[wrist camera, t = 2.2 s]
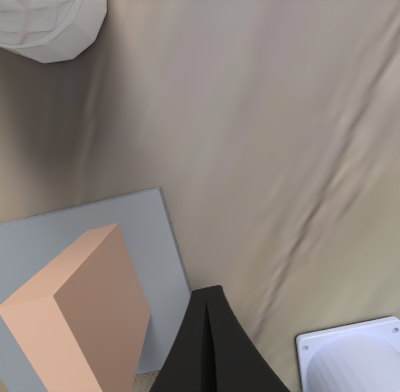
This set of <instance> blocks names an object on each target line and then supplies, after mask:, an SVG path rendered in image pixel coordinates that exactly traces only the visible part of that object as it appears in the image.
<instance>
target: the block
mask: <svg viewBox="0 0 400 392" xmlns="http://www.w3.org/2000/svg"><path fill="white" fill-rule="evenodd" d="M0 315H1V317H2V318H3V320H4V322H5V323H6V325H7V326H8V328H9V330H10V331H11V333H12V334H13V336H14V337H15V339H16V341H17V342H18V344H19V345H20V347H21V349H22V350H23V352H24V353H25V355H26V357H27V358H28V360H29V361H30V363H31V365H32V366H33V368H34V369H35V371H36V373H37V374H38V376H39V377H40V379H41V381H42V382H43V384H44V385H45V387H46V389H47V390H48V392H131V391H132V387H133V383H134V379H135V375H136V371H137V367H138V363H139V359H140V355H141V351H142V347H143V343H144V339H145V335H146V331H147V327H148V323H149V319H150V315H151V311H150V308H149V306H148V303H147V300H146V298H145V295H144V292H143V289H142V287H141V284H140V281H139V279H138V276H137V273H136V270H135V268H134V265H133V262H132V260H131V257H130V254H129V252H128V249H127V246H126V243H125V241H124V238H123V235H122V233H121V230H120V227H119V224H113V225H109V226H104V227H100V228H96V229H91V230H87V231H86V232H85V233H83V234H82V235H81V236H80V237H79V238H78V239H76V240H75V241H74V242H73V243H72V244H71V245H69V246H68V247H67V248H66V249H65V250H64V251H62V252H61V253H60V254H59V255H58V256H57V257H55V258H54V259H53V260H52V261H51V262H50V263H48V264H47V265H46V266H45V267H44V268H43V269H41V270H40V271H39V272H38V273H37V274H36V275H34V276H33V277H32V278H31V279H30V280H28V281H27V282H26V283H25V284H24V285H23V286H21V287H20V288H19V289H18V290H17V291H16V292H14V293H13V294H12V295H11V296H10V297H9V298H7V299H6V300H5V301H4V302H3V303H2V304H0Z"/></svg>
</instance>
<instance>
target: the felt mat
mask: <svg viewBox="0 0 400 392" xmlns="http://www.w3.org/2000/svg"><path fill="white" fill-rule="evenodd" d="M113 224H119V227H120V230H121V233H122V235H123V238H124V241H125V243H126V246H127V249H128V252H129V254H130V257H131V260H132V262H133V265H134V268H135V270H136V273H137V276H138V279H139V281H140V284H141V287H142V289H143V292H144V295H145V298H146V300H147V303H148V306H149V308H150V311H151V315H150V319H149V323H148V327H147V331H146V335H145V339H144V343H143V347H142V351H141V355H140V359H139V363H138V367H137V371H136V375H138V374H143V373H148V372H153V371H158V370H161V368H162V366H163V364H164V362H165V360H166V358H167V356H168V354H169V351H170V349H171V347H172V345H173V343H174V340H175V338H176V336H177V333H178V331H179V328H180V326H181V323H182V320H183V318H184V315H185V312H186V309H187V306H188V303H189V300H190V296H191V293H192V292H191V289H190V285H189V282H188V278H187V275H186V271H185V268H184V265H183V261H182V258H181V254H180V251H179V247H178V244H177V241H176V237H175V234H174V230H173V227H172V223H171V220H170V217H169V213H168V210H167V206H166V203H165V199H164V196H163V193H162V189H161V186H160V187H155V188H151V189H147V190H143V191H138V192H134V193H130V194H125V195H121V196H117V197H112V198H108V199H104V200H100V201H95V202H91V203H87V204H82V205H78V206H74V207H69V208H65V209H61V210H57V211H52V212H48V213H44V214H39V215H35V216H31V217H26V218H22V219H18V220H14V221H9V222H5V223H1V224H0V304H2V303H3V302H4V301H5V300H6V299H7V298H9V297H10V296H11V295H12V294H13V293H14V292H16V291H17V290H18V289H19V288H20V287H21V286H23V285H24V284H25V283H26V282H27V281H28V280H30V279H31V278H32V277H33V276H34V275H36V274H37V273H38V272H39V271H40V270H41V269H43V268H44V267H45V266H46V265H47V264H48V263H50V262H51V261H52V260H53V259H54V258H55V257H57V256H58V255H59V254H60V253H61V252H62V251H64V250H65V249H66V248H67V247H68V246H69V245H71V244H72V243H73V242H74V241H75V240H76V239H78V238H79V237H80V236H81V235H82V234H83V233H85V232H86V231H87V230H91V229H96V228H100V227H104V226H109V225H113ZM0 379H1V381H2V382H3V383H4V385H5V386H6V388H7V389H8V391H9V392H48V390H47V389H46V387H45V385H44V384H43V382H42V381H41V379H40V377H39V376H38V374H37V373H36V371H35V369H34V368H33V366H32V365H31V363H30V361H29V360H28V358H27V357H26V355H25V353H24V352H23V350H22V349H21V347H20V345H19V344H18V342H17V341H16V339H15V337H14V336H13V334H12V333H11V331H10V330H9V328H8V326H7V325H6V323H5V322H4V320H3V318H2V317H1V315H0Z"/></svg>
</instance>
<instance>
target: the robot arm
mask: <svg viewBox="0 0 400 392" xmlns="http://www.w3.org/2000/svg"><path fill="white" fill-rule="evenodd" d="M296 344H297V352H298V360H299V367H300V375H301V382H302V390H303V392H400V320H399V319H397V318H396V317H387V318H382V319H377V320H372V321H367V322H362V323H357V324H351V325H346V326H341V327H336V328H331V329H326V330H321V331H316V332H311V333H306V334H301V335H299V336H298V337H297V338H296ZM149 392H290V391H289V389H288V388H287V387H286V386H285V385H284V384H283V382H282V381H281V380H280V379H279V377H278V376H277V375H276V374H275V373H274V371H273V370H272V369H271V368H270V366H269V365H268V364H267V362H266V361H265V360H264V358H263V357H262V356H261V354H260V353H259V352H258V350H257V349H256V348H255V346H254V345H253V343H252V342H251V340H250V339H249V337H248V336H247V334H246V333H245V331H244V330H243V328H242V327H241V325H240V323H239V322H238V320H237V318H236V317H235V315H234V313H233V311H232V310H231V308H230V306H229V304H228V302H227V299H226V297H225V295H224V292H223V288H222V286H220V285H216V286H212V287H207V288H202V289H197V290H193V291H192V293H191V296H190V300H189V303H188V306H187V309H186V312H185V315H184V318H183V320H182V323H181V326H180V328H179V331H178V333H177V336H176V338H175V340H174V343H173V345H172V347H171V349H170V351H169V354H168V356H167V358H166V360H165V362H164V364H163V366H162V368H161V370H160V372H159V374H158V376H157V378H156V380H155V382H154V384H153V386H152V387H151V389H150V391H149Z"/></svg>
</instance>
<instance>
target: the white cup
mask: <svg viewBox="0 0 400 392" xmlns="http://www.w3.org/2000/svg"><path fill="white" fill-rule="evenodd" d="M106 13H107V0H0V47H1V48H3V49H6V50H8V51H10V52H13V53H16V54H19V55H21V56H24V57H27V58H30V59H33V60H36V61H38V62H41V63H51V62H58V61H65V60H72V59H74V58H75V57H76V56H78V55H79V54H80V53H81V52H83V51H84V50H85V49H86V48H87V47H89V46H90V45H91V44H92V43H94V42H95V40H96V37H97V35H98V32H99V30H100V28H101V25H102V23H103V20H104V18H105V15H106Z"/></svg>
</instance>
